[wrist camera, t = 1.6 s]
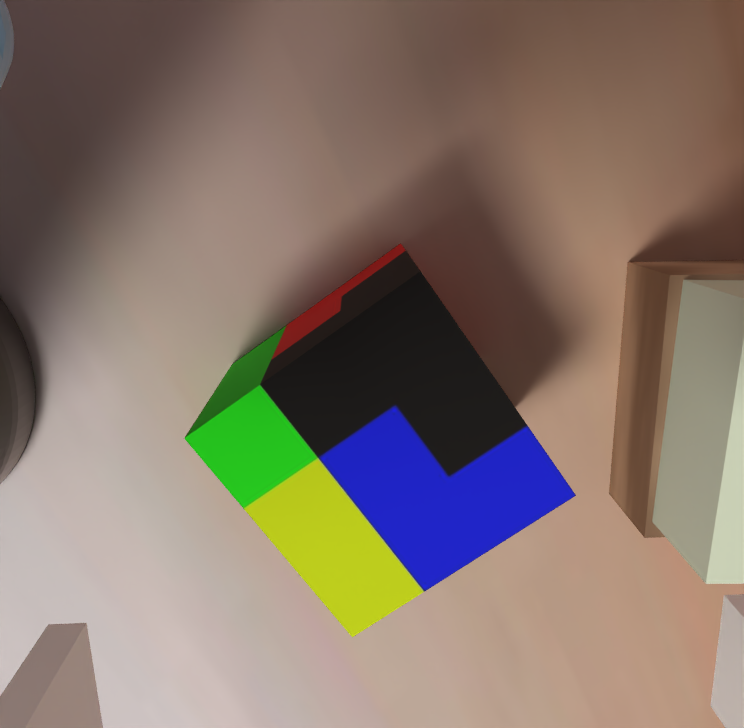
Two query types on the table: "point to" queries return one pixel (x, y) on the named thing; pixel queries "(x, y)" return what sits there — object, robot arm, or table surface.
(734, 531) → the top slab
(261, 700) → the table surface
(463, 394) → the puzzle toy
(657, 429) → the bottom slab
